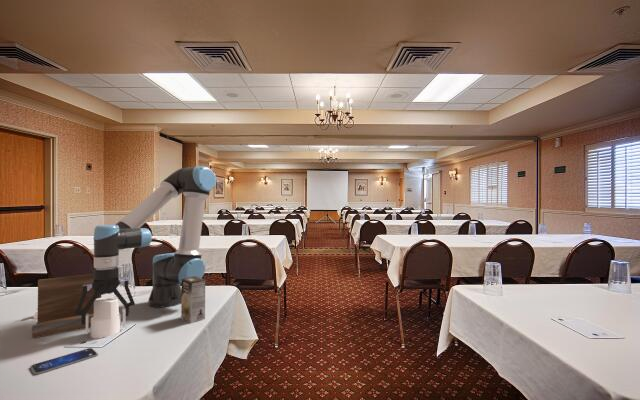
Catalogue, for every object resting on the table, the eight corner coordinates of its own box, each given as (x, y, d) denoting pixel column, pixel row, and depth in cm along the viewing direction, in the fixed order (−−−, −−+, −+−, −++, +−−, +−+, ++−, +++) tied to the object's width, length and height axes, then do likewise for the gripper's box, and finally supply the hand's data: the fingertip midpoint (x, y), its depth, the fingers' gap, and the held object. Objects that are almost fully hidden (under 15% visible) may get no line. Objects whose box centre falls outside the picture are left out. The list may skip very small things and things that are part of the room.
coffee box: (180, 317, 130) (180, 278, 130) (195, 313, 135) (195, 275, 135) (190, 323, 124) (190, 282, 124) (206, 319, 128) (206, 279, 129)
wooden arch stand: (101, 325, 122) (102, 279, 122) (32, 337, 111) (32, 287, 111) (101, 314, 134) (101, 273, 134) (37, 325, 122) (38, 279, 122)
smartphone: (99, 354, 98) (34, 374, 86) (99, 357, 98) (34, 377, 86) (91, 346, 102) (29, 365, 91) (91, 349, 102) (29, 368, 91)
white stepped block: (126, 329, 118) (126, 297, 118) (102, 339, 109) (103, 304, 109) (108, 326, 120) (109, 295, 121) (84, 336, 112) (84, 302, 112)
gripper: (65, 273, 105) (64, 340, 105) (143, 265, 119) (143, 325, 118) (66, 269, 111) (66, 333, 111) (141, 262, 125) (141, 319, 125)
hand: (106, 329), depth 115 cm, fingers open, 10 cm apart
